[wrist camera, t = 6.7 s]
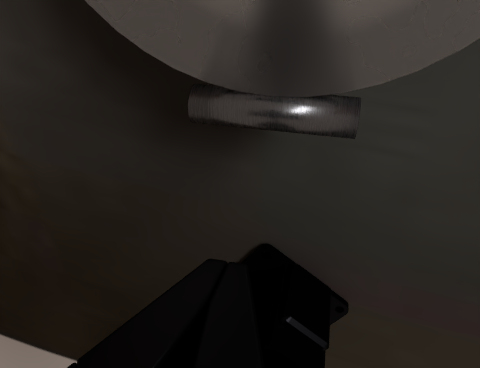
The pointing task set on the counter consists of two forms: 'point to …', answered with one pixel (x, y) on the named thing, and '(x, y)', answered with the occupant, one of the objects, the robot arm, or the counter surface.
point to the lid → (291, 53)
